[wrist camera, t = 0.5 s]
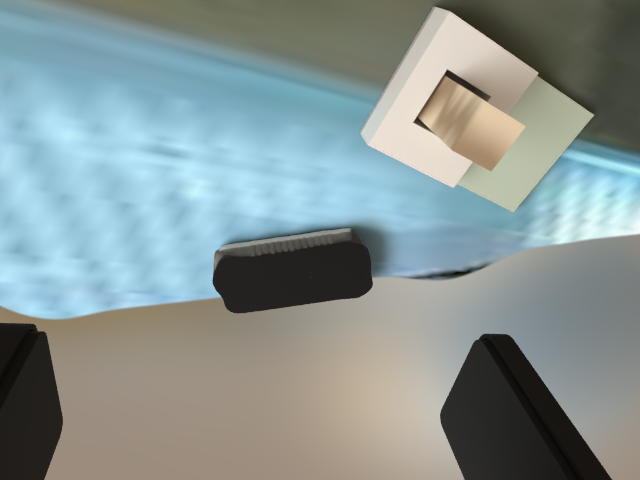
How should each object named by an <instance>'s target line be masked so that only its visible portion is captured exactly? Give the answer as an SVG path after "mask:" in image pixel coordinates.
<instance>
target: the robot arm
mask: <svg viewBox="0 0 640 480" xmlns="http://www.w3.org/2000/svg"><path fill="white" fill-rule="evenodd" d="M440 418H441V424H442V427H443V430H444V432H445V434H446V437H447V439H448V441H449V444H450V446H451V448H452V451H453V453H454V456H455V458H456V460H457V463H458V465H459V467H460V469H461V472H462V474H463V477H464V479H465V480H612V479H611V478H610V476H609V475H608V473H607V472H606V470H605V469H604V468H603V466H602V465H601V463H600V462H599V461H598V459H597V458H596V456H595V455H594V453H593V452H592V451H591V449H590V448H589V446H588V445H587V443H586V442H585V441H584V439H583V438H582V436H581V435H580V434H579V432H578V431H577V429H576V428H575V426H574V425H573V424H572V422H571V421H570V419H569V418H568V416H567V415H566V414H565V412H564V411H563V410H562V408H561V407H560V405H559V404H558V402H557V401H556V399H555V398H554V397H553V395H552V394H551V392H550V391H549V390H548V388H547V387H546V385H545V384H544V382H543V381H542V380H541V378H540V377H539V375H538V374H537V372H536V371H535V370H534V368H533V367H532V365H531V364H530V363H529V361H528V360H527V358H526V357H525V355H524V354H523V353H522V351H521V350H520V348H519V347H518V345H517V344H516V343H515V341H514V340H513V339H512V338H511V337H510V336H509V335H507V334H483V335H482V336H481V337H480V338H479V340H476V341H475V342H474V343H473V345H472V347H471V349H470V352H469V354H468V355H467V358H466V360H465V362H464V364H463V366H462V368H461V370H460V372H459V374H458V376H457V378H456V380H455V383H454V385H453V387H452V389H451V391H450V393H449V396H448V397H447V399H446V401H445V403H444V405H443V408H442V410H441V414H440ZM62 425H63V417H62V412H61V406H60V401H59V396H58V391H57V386H56V381H55V376H54V370H53V365H52V360H51V355H50V350H49V344H48V340H47V335H46V333H45V332H38V331H37V328H36V326H35V325H34V324H16V323H0V480H44V478H45V476H46V473H47V470H48V468H49V465H50V462H51V460H52V457H53V454H54V451H55V449H56V446H57V443H58V440H59V438H60V434H61V431H62Z"/></svg>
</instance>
